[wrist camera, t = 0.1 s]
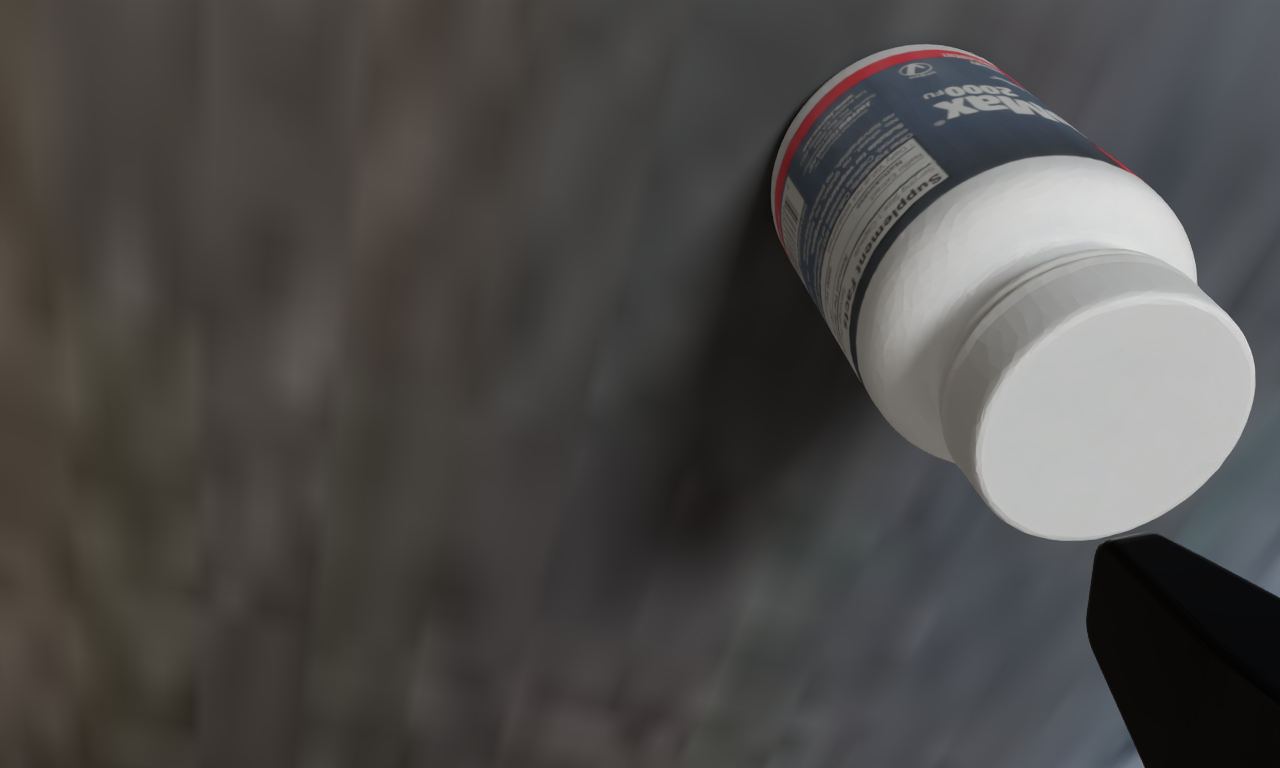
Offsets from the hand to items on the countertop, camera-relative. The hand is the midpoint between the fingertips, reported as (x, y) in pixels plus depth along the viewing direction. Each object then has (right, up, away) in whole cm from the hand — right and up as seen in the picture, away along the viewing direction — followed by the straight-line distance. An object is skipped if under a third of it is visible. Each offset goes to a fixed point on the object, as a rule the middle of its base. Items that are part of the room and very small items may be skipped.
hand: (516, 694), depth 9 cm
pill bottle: (+6, +6, +15) cm, 17 cm away
